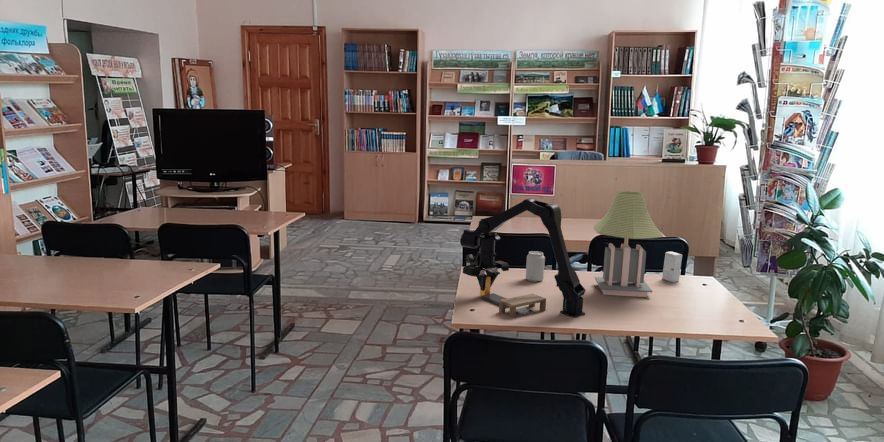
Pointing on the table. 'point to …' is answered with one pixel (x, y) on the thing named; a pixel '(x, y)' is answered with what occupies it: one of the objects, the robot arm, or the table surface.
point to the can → (535, 266)
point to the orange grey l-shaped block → (490, 297)
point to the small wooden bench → (521, 303)
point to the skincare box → (672, 266)
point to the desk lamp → (626, 245)
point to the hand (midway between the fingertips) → (485, 290)
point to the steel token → (523, 311)
